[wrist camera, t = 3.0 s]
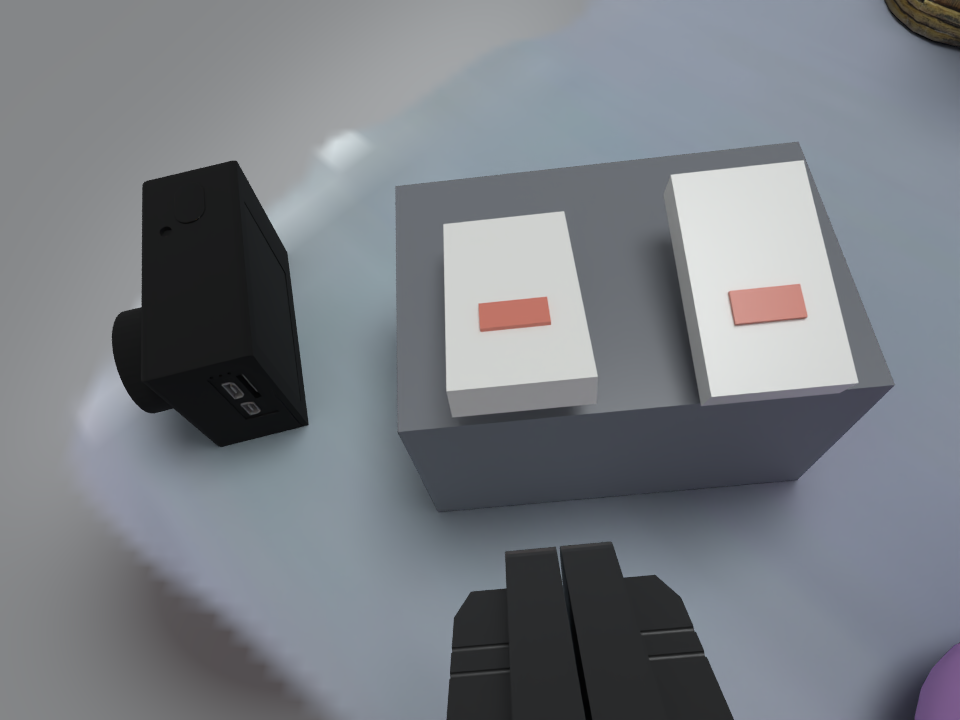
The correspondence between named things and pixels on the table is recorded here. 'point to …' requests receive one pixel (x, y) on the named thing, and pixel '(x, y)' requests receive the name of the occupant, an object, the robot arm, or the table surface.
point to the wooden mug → (930, 18)
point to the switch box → (606, 351)
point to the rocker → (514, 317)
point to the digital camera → (212, 311)
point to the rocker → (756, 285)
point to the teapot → (941, 689)
